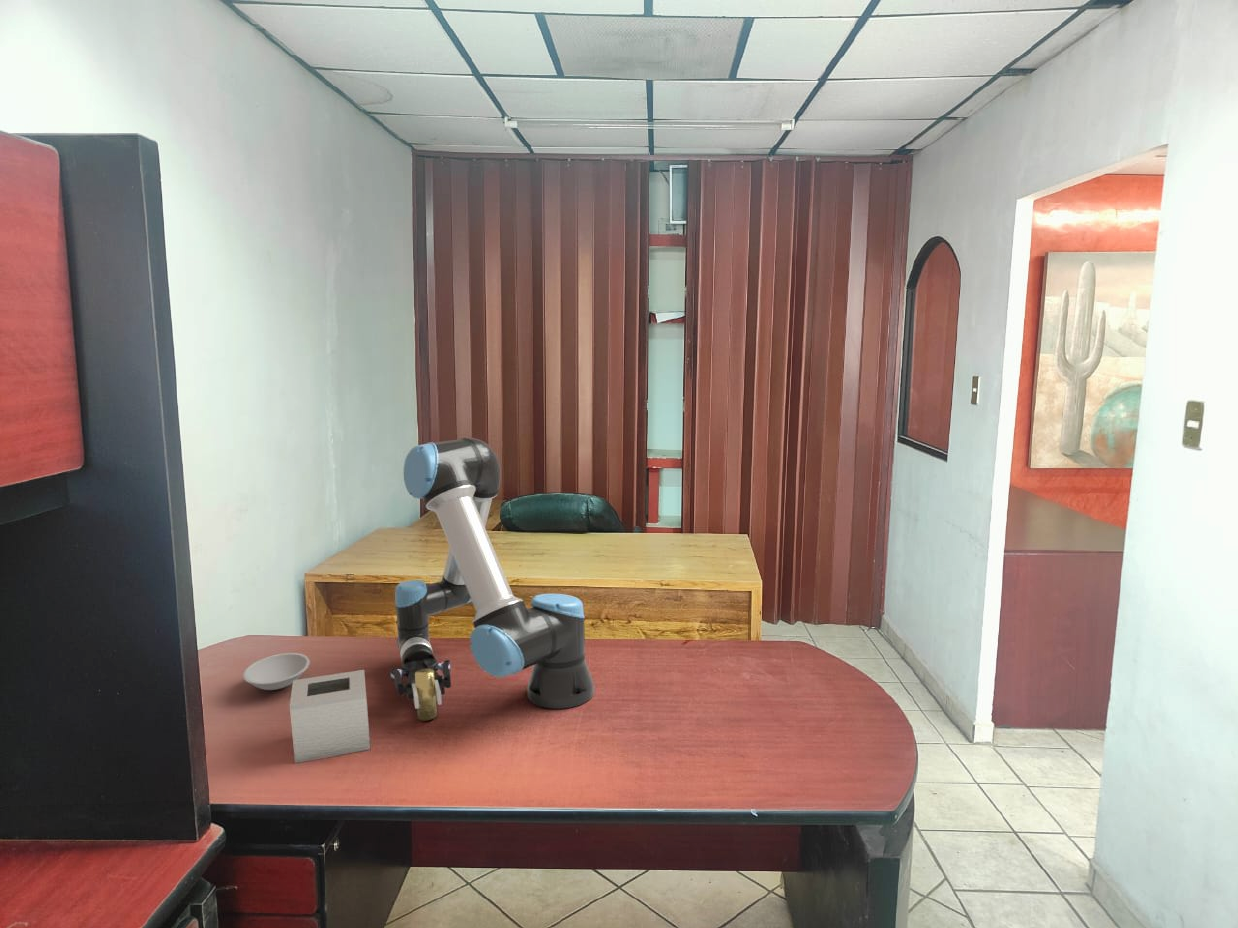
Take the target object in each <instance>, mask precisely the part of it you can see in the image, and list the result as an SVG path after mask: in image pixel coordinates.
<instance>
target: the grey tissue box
mask: <svg viewBox="0 0 1238 928" xmlns="http://www.w3.org/2000/svg"><path fill="white" fill-rule="evenodd" d="M365 675H366V673H365V669H359V670H354V671H352V670H351V671H347V672H346V671H345V672H340V673H334V674H327V675H320V676H315V677H314V676H312V677H305V678H298V679H297V680H293V683H292V684H291V685H292V686H291V687H292V688H291V694H290V701H289V711H290V713H289V714H290V723H291V724H290V725H291V735H292V743H293V745H292V746H293V754H294V755H293V756H294V764H297V763H298V764H299V763H304V762H309V761H310V762H311V761H316V760H321V759H326V758H333V757H337V756H342V755H343V756H344V755H347V754H353V753H359V752H364V751H370V750H371V740H370V727H369V716H368V715H369V713H368V712H369V711H368V700H367V690H366V689H367V688H366V677H365Z"/></svg>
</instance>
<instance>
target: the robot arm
mask: <svg viewBox="0 0 1238 928" xmlns="http://www.w3.org/2000/svg"><path fill="white" fill-rule="evenodd" d="M501 470H502V469H501V464H500V460H499V458H498V455H497V454H496V452H495V451H494V450H493V448H492V447H491V446H490V445H489V444H488V443H486V442H485V441H483V440H481V439H477V438H475V437H464V438H459V439H452V440H443V441H436V442H432V441H429V442H427V443H422V444H418V445H415V446H413V447H412V448H411V449H409V451H408V453H407V455H406V456H405V459H404V466H403V481H404V486H405V488H406V490H407V493H408V494H409V495H411V496H412V498H414V499H419V500H420V499H422V501H423V503H424V505H425V508H426V509H427V510H428V511H431V512H434V513H435V514H436V516H437V519H438V521H439V524H440V526H441V529H442V531H443V534H444V536H445V538H446V540H447V543H448V545H449V546H448V551H447V556H446V561H445V564H444V569H443V574H442V576H441V577H442V578H441V579H440V581H437V582H433V583H431V584H427V583H426V582H425V581H424V580H420V579H411V580H405V581H402V582H400V583H398V584H397V585H396V586H395V588H394V589H395V591H394V605H395V611H396V622H397V625H396V626H397V628H396V630H397V638H396V641H397V647H398V650H399V653H400V654H399V655H400V660H401V661H400V662H401V667H400V669H399V668H398V669H397V668H396V667H395V668H394V667H392V668H391V669H390V670H389V671H390V680H391V681H392V682H394V685H395V688H396V693H397V696H400V697H401V696H404V694H406V699H407V700H408V701H410V700H412V701H413V704H414V708H415V709H418V708H419V700H418V693H417V688H416V684H415V672H416V671H418V670H421V669H432V670H434V679H435V695H436V704H437V705H438V706H440V705H443V704H442V695H444V694H445V693H446V691H445V690H446V689H449V688H452V681H451V674H450V673H451V661H450V659H449V660H448V659H446V660H444V661H443V662H441V663H440V662H439V661H438V660H436V658H435V654H434V651H433V650H434V649H433V648H432V645H431V640H430V638H431V637H430V625H429V619H430V618H429V617H430V616H434V615H436V614H439V613H442V612H445V611H448V610H452V609H455V608H459V607H463V606H466V605H467V604H469V603H472V605H473V607H474V610H475V615H474V617H473V620H472V624H473V626H474V629H473V630H472V631H471V634H470V636H469V641H470V642H471V643H470V645H469V647H470V649H471V653H472V656H473V658H474V660H475V661H476V663H477V664H478V666H479V667H480V668H481V669H482V670H483V672H485V673H487V674H489V675H490V676H492V677H495V678H503V677H507V676H510V675H516V674H518V673H519V672H521V671H523V670H525V669H527V668H528V669H529V668H530V667H532V669H531V670H532V671H531V673H530V676H529V681H528V683H527V689H526V690H527V699H528V700H529V701H530V703H532V704H533V705H536V706H538V707H540V708H545V709H554V710H555V709H556V710H559V709H560V710H561V709H569V708H575V707H577V706H580V705H583V704H585V703H587V702H588V701H589V700H591V699H592V698H593V696H594V693H595V691H594V690H595V687H594V680H593V678H592V675H591V673H590V670H589V667H588V664H587V662H586V643H585V640H586V638H585V637H586V635H585V632H586V631H585V618H586V616H585V614H584V613H585V612H584V604H583V601H581V599H579V598H578V597H576V596H573V595H570V594H569V595H568V594H563V593H540V594H537V595H534V596H533V597H532V598H531V602H530V606H531V607H530V608H527V606H526V604H525V601H524V600H523V598H519V597H517V596H515V595H514V593H513V591H512V589H511V586H510V585H509V582H508V579H507V577H506V575H505V572H504V570H503V568H502V565H501V563H500V560H499V558H498V555H497V553H496V551H495V548H494V546H493V544H492V541H491V539H490V536H489V533H488V532H487V529H486V527H487V525H486V524H487V521H488V518H489V517H488V516H489V514H490V510H491V505H492V501H493V499H494V498H496V497H497V496H498V494H499V490H500V486H501V482H502V471H501ZM437 671H440V672H441V674H442V675H440V674H439V673H438V672H437ZM402 676H403V677H406V678H407V680H406V683H405V684H404V683H403V678H402Z"/></svg>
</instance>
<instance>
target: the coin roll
mask: <svg viewBox="0 0 1238 928" xmlns="http://www.w3.org/2000/svg"><path fill="white" fill-rule="evenodd" d="M415 684H416V688H417V693H418V700H419V708H418V709H417V710H416V711H417V719H418V720H419V721H430V720H434V719H435V718H436V717H437V716H438V712H437V711H438V710H437V699H436V695H435V679H434V670H432V669H421V670H418V671H416V672H415Z"/></svg>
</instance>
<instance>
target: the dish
mask: <svg viewBox="0 0 1238 928" xmlns="http://www.w3.org/2000/svg"><path fill="white" fill-rule="evenodd" d="M310 663H311V661H310V658H309V657H308V656H307V655H305V654H302V653H296V652H285V653H277V654H273V655H270V656H266V657H264V658H260V659H258V660H257V661H255V662H253V663H251V664H250V665H249V666H247V667H246V668H245V670H244V671H243V673H242V679H243V680H244V681H245V682H246V683H248V684H251V685H252V686H253V687H255V688H258V689H260V690H264V691H274V690H280V689H283V688H286V687H288V686H291V685H293V680H299V679H300V678H301V676H302V675H303V674H304V673H305V671H306V670H307V669H308V668H309V666H310Z"/></svg>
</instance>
